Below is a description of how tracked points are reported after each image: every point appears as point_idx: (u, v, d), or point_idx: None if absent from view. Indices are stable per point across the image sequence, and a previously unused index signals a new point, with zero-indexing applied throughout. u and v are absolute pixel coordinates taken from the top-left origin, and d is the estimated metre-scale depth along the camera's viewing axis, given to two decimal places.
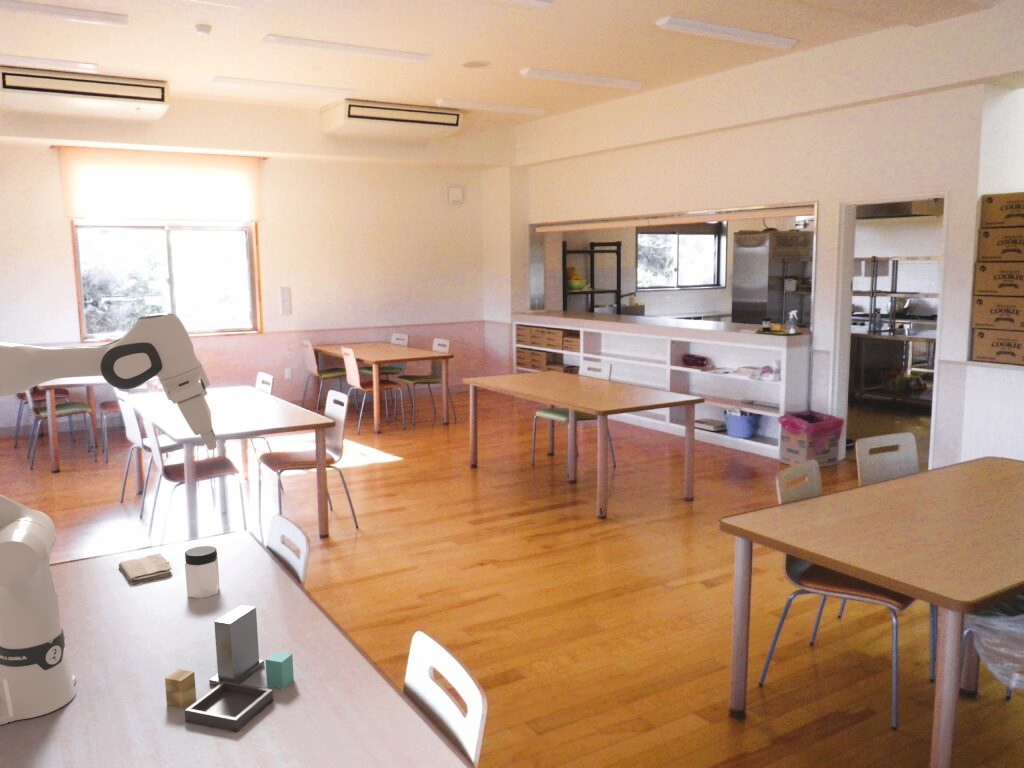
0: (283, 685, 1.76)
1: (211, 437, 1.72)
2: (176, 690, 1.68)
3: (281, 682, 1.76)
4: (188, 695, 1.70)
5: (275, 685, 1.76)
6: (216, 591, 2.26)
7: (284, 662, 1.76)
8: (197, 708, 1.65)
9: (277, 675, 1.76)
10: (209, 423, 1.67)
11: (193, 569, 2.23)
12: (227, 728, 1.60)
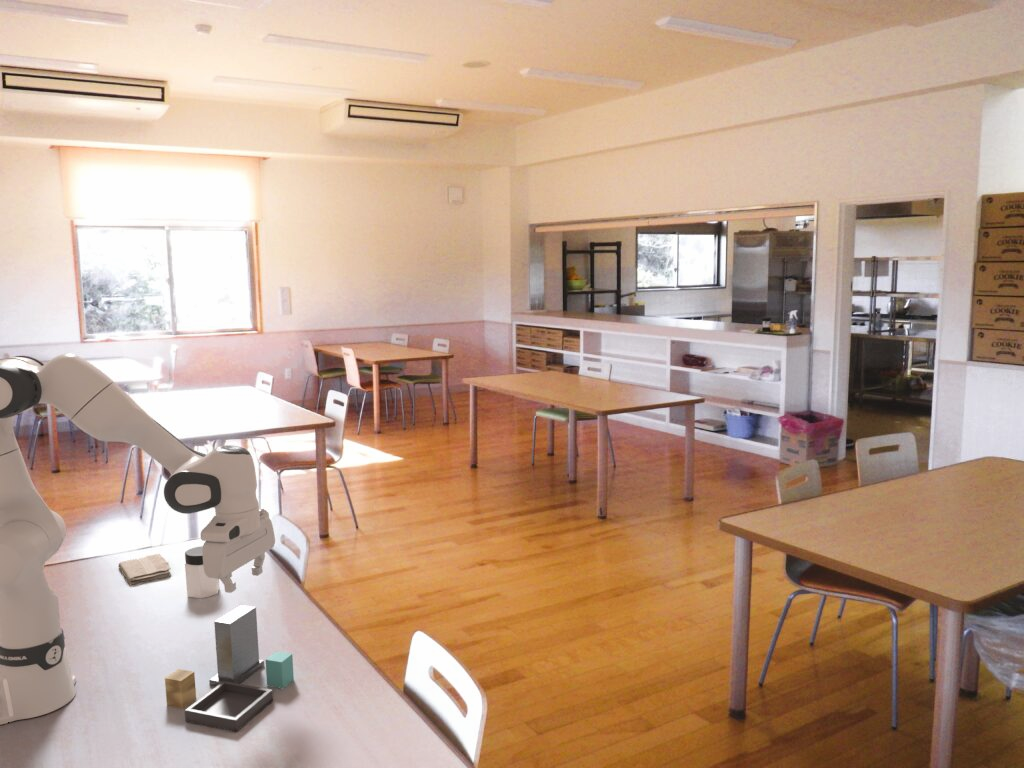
0: (283, 685, 1.76)
1: (228, 582, 1.72)
2: (176, 690, 1.68)
3: (281, 682, 1.76)
4: (188, 695, 1.70)
5: (275, 685, 1.76)
6: (216, 591, 2.26)
7: (284, 662, 1.76)
8: (197, 708, 1.65)
9: (277, 675, 1.76)
10: (218, 573, 1.67)
11: (193, 569, 2.23)
12: (227, 728, 1.60)
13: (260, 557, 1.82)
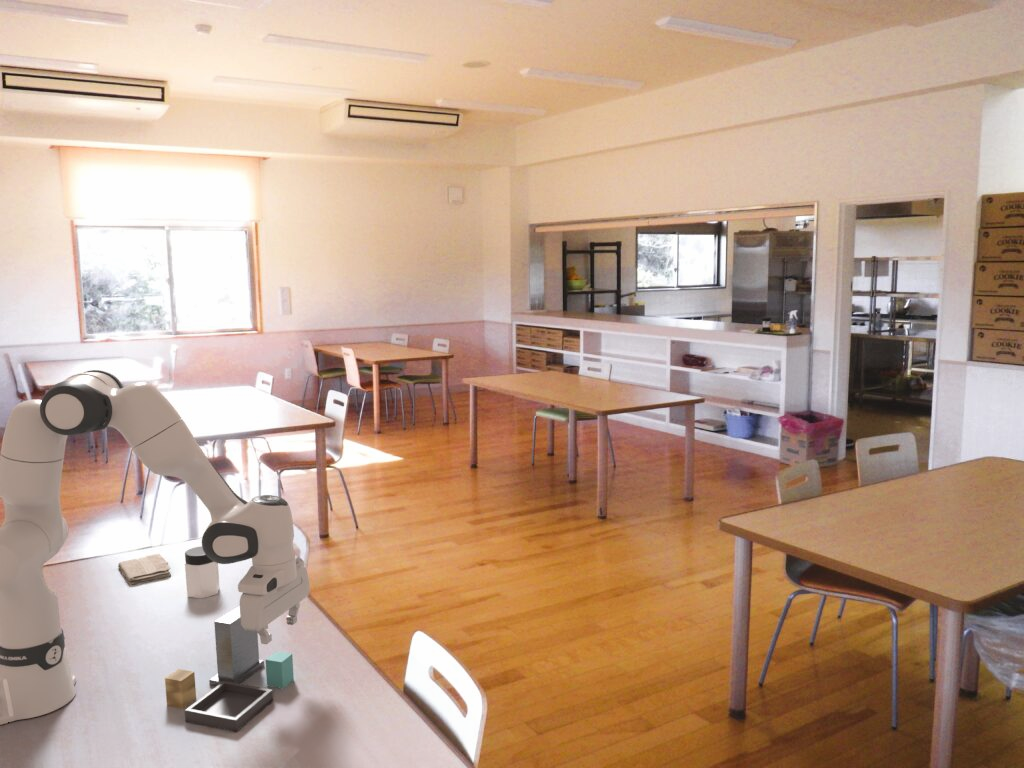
0: (283, 685, 1.76)
1: (264, 634, 1.70)
2: (176, 690, 1.68)
3: (281, 682, 1.76)
4: (188, 695, 1.70)
5: (275, 685, 1.76)
6: (216, 591, 2.26)
7: (284, 662, 1.76)
8: (197, 708, 1.65)
9: (277, 675, 1.76)
10: (255, 626, 1.66)
11: (193, 569, 2.23)
12: (227, 728, 1.60)
13: (295, 606, 1.81)
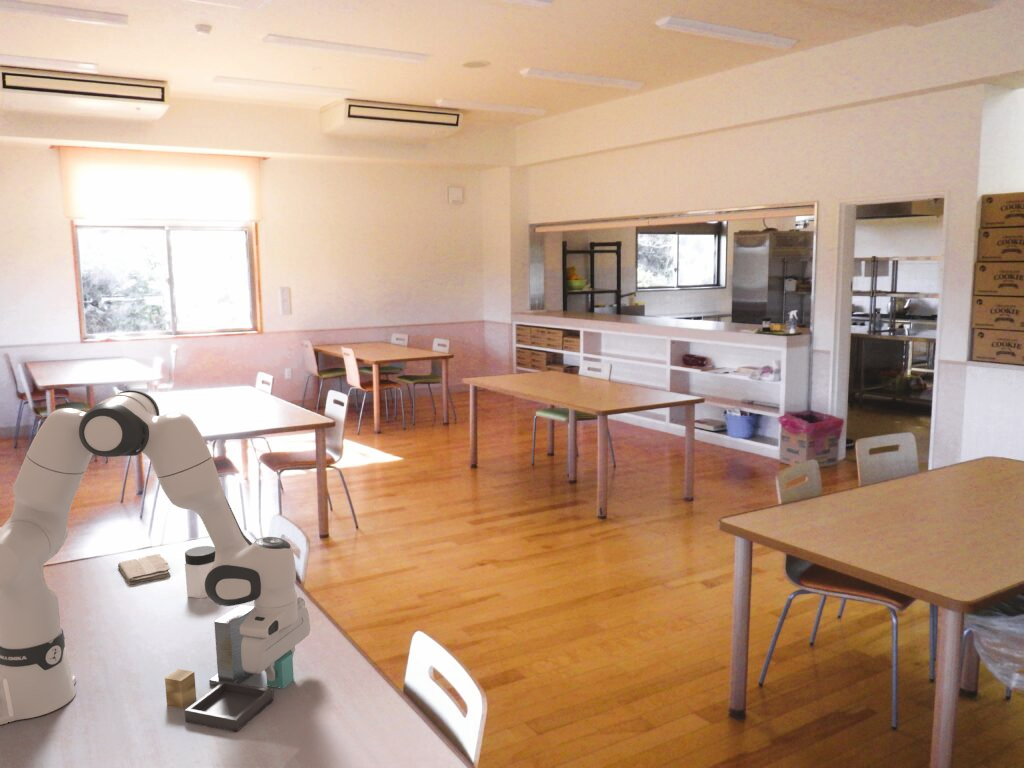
0: (283, 685, 1.76)
1: (271, 671, 1.74)
2: (176, 690, 1.68)
3: (281, 682, 1.76)
4: (188, 695, 1.70)
5: (275, 685, 1.76)
6: None
7: (284, 662, 1.76)
8: (197, 708, 1.65)
9: None
10: (256, 669, 1.67)
11: (193, 569, 2.23)
12: (227, 728, 1.60)
13: (290, 650, 1.80)
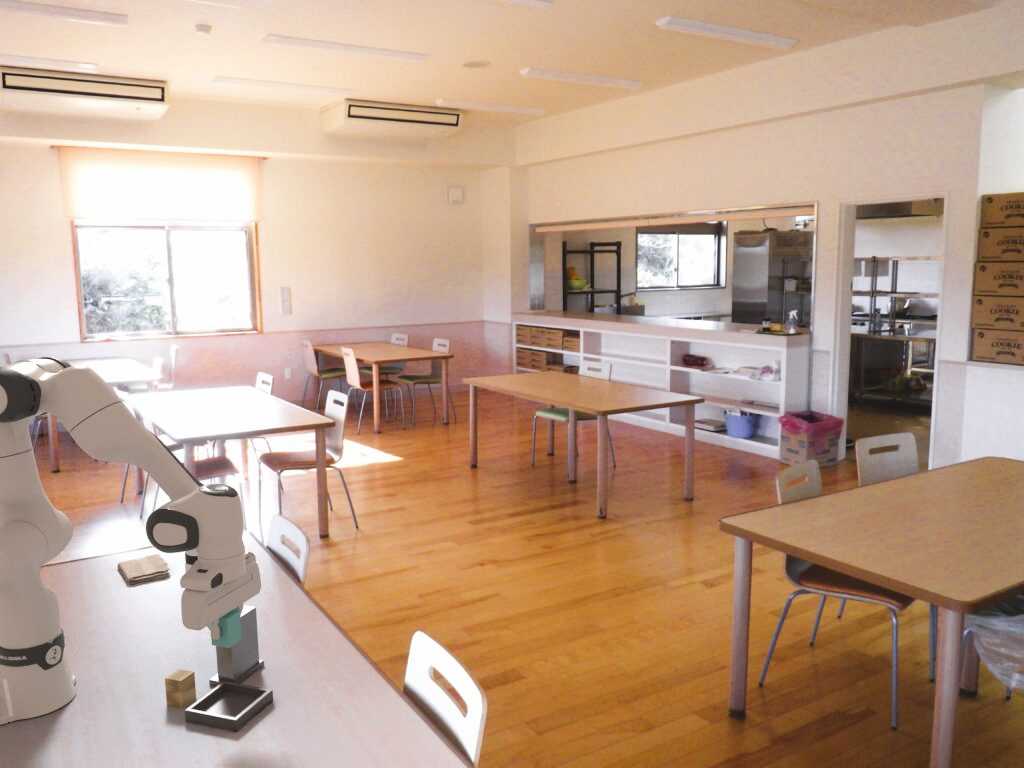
0: (229, 644, 1.63)
1: (215, 629, 1.61)
2: (176, 690, 1.68)
3: (226, 641, 1.63)
4: (188, 695, 1.70)
5: (220, 644, 1.63)
6: None
7: (231, 619, 1.63)
8: (197, 708, 1.65)
9: (223, 633, 1.63)
10: (197, 625, 1.54)
11: None
12: (227, 728, 1.60)
13: (238, 608, 1.67)
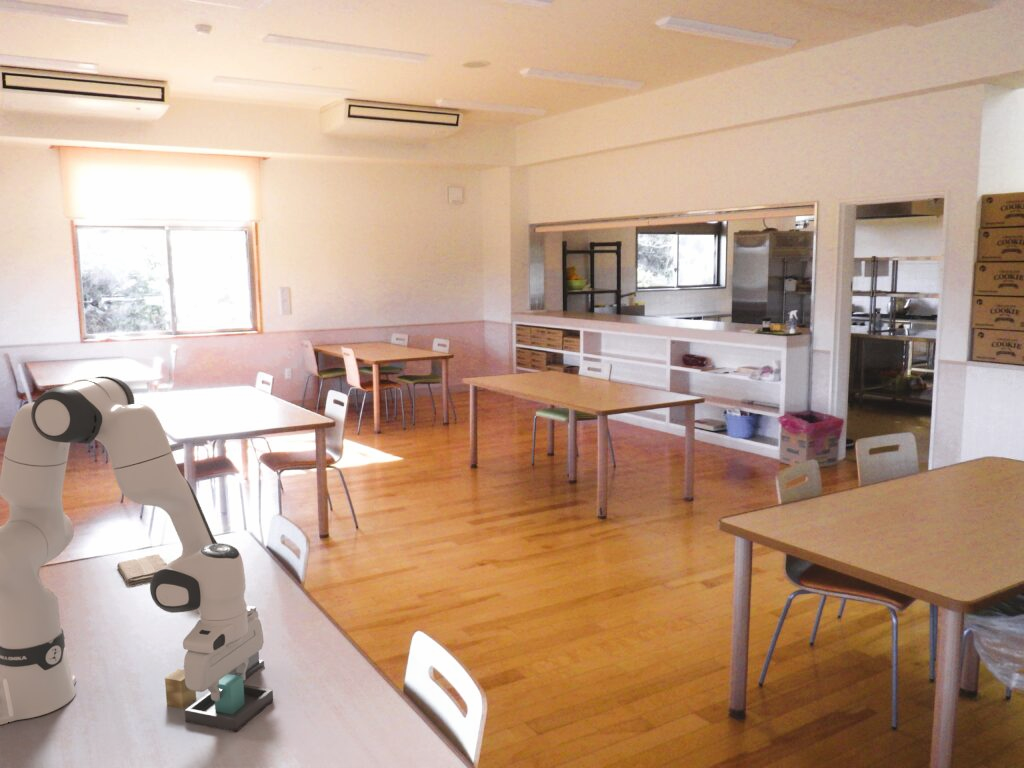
0: (232, 710, 1.65)
1: (215, 690, 1.61)
2: (176, 690, 1.68)
3: (230, 708, 1.64)
4: (188, 695, 1.70)
5: (224, 710, 1.65)
6: None
7: (234, 686, 1.65)
8: (197, 708, 1.65)
9: (226, 699, 1.64)
10: (200, 687, 1.56)
11: None
12: (227, 728, 1.60)
13: (243, 663, 1.69)
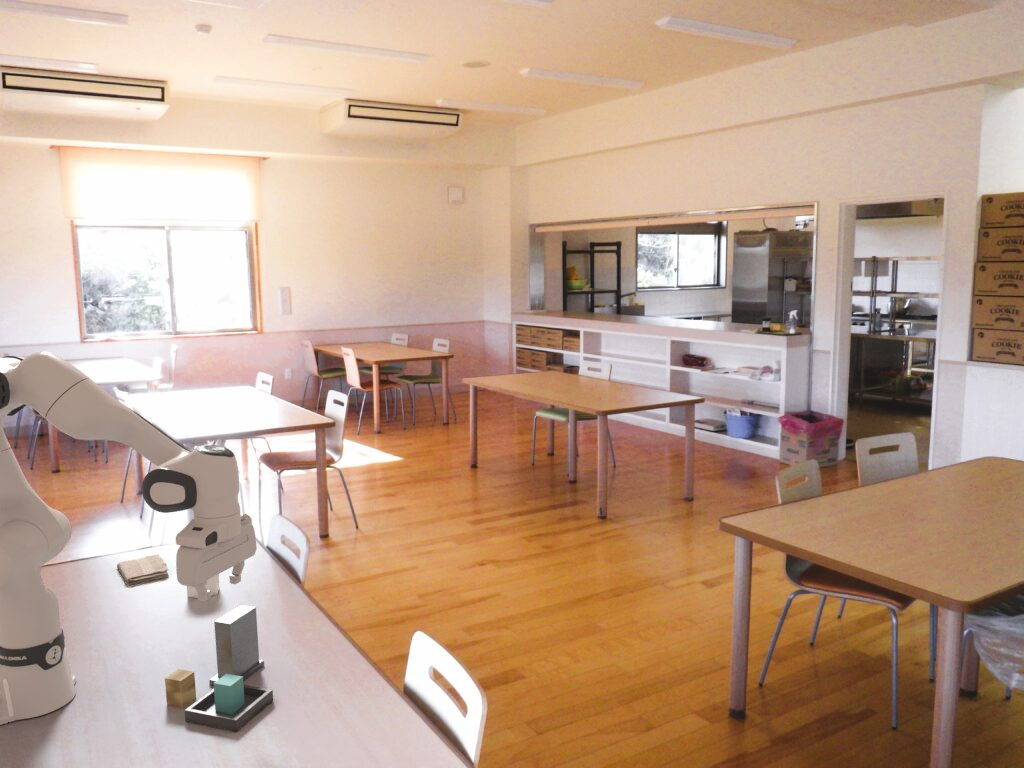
0: (232, 710, 1.65)
1: (202, 590, 1.62)
2: (176, 690, 1.68)
3: (230, 708, 1.64)
4: (188, 695, 1.70)
5: (224, 710, 1.65)
6: (216, 591, 2.26)
7: (234, 686, 1.65)
8: (197, 708, 1.65)
9: (226, 699, 1.64)
10: (191, 581, 1.57)
11: None
12: (227, 728, 1.60)
13: (239, 565, 1.72)
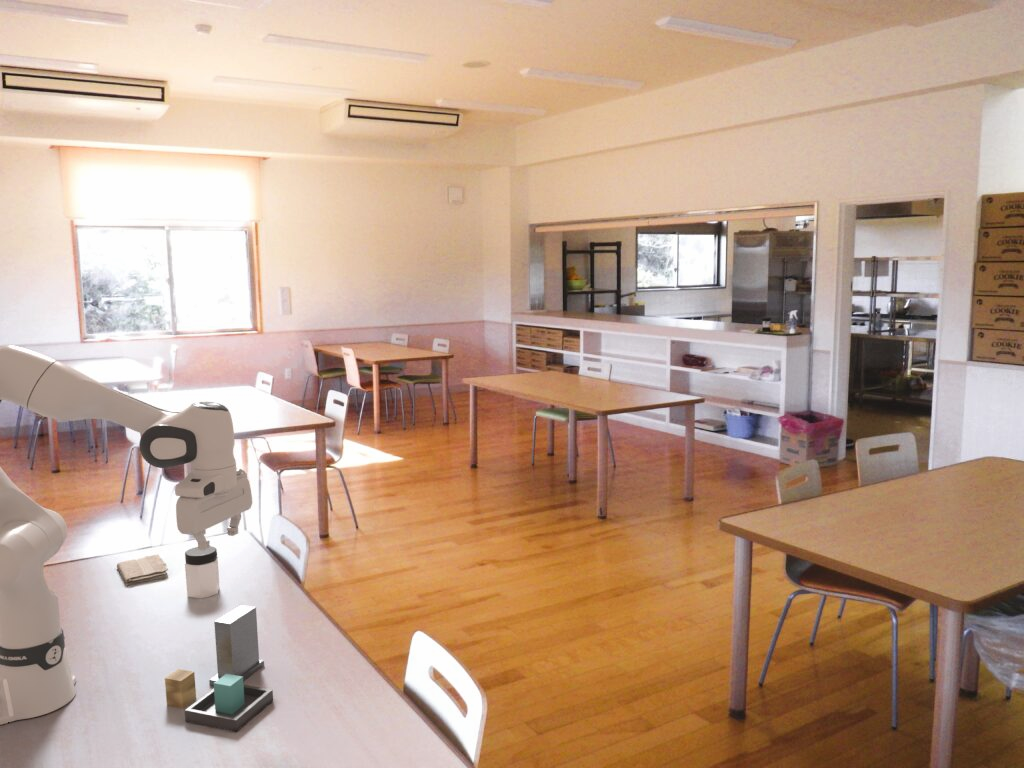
0: (232, 710, 1.65)
1: (202, 539, 1.69)
2: (176, 690, 1.68)
3: (230, 708, 1.64)
4: (188, 695, 1.70)
5: (224, 710, 1.65)
6: (216, 591, 2.26)
7: (234, 686, 1.65)
8: (197, 708, 1.65)
9: (226, 699, 1.64)
10: (191, 529, 1.65)
11: (193, 569, 2.23)
12: (227, 728, 1.60)
13: (236, 517, 1.80)
